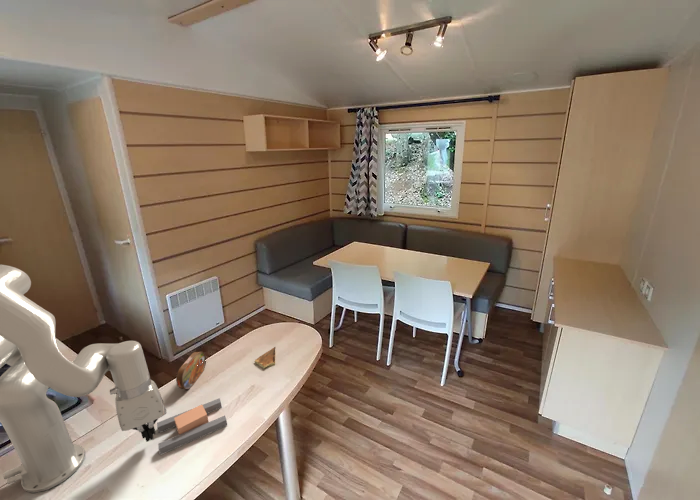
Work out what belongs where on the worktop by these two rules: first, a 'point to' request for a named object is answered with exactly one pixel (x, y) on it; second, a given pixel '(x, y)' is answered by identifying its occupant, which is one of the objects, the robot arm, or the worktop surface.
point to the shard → (266, 359)
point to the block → (191, 419)
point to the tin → (191, 370)
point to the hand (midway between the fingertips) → (149, 436)
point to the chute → (190, 434)
